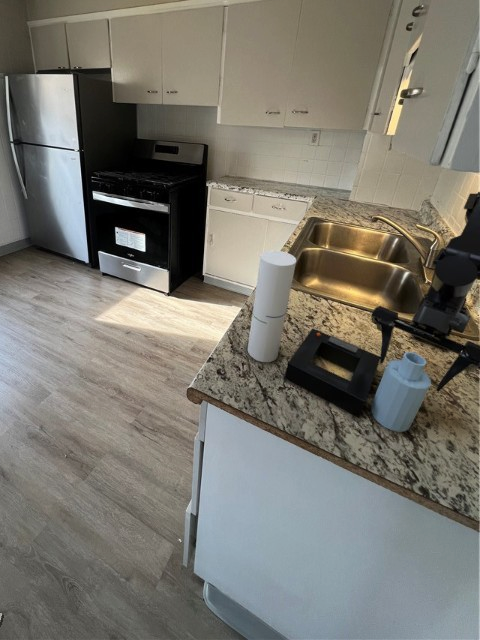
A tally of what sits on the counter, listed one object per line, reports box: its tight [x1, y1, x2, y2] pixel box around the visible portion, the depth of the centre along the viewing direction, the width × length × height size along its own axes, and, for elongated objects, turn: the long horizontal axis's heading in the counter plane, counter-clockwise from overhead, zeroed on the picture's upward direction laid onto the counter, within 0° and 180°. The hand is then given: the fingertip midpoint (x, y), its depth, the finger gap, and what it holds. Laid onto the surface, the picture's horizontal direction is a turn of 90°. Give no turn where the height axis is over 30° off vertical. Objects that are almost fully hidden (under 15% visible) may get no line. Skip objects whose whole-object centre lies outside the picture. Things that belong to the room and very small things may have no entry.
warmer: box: [284, 327, 381, 419], centre depth 68 cm, size 15×15×5 cm
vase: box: [370, 351, 432, 433], centre depth 57 cm, size 7×7×14 cm
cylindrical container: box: [247, 250, 297, 363], centre depth 70 cm, size 7×7×25 cm
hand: (407, 376), depth 58 cm, fingers open, 9 cm apart
